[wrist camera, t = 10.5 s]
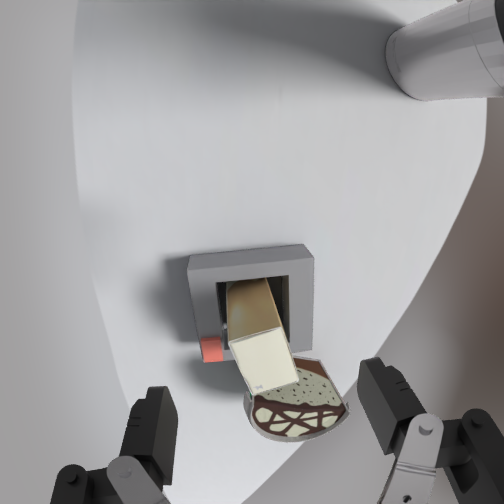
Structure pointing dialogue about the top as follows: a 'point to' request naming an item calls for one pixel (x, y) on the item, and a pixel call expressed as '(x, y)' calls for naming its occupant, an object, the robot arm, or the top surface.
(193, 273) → the socket block
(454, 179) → the top surface
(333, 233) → the top surface
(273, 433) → the food container
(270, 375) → the skincare box
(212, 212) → the top surface
